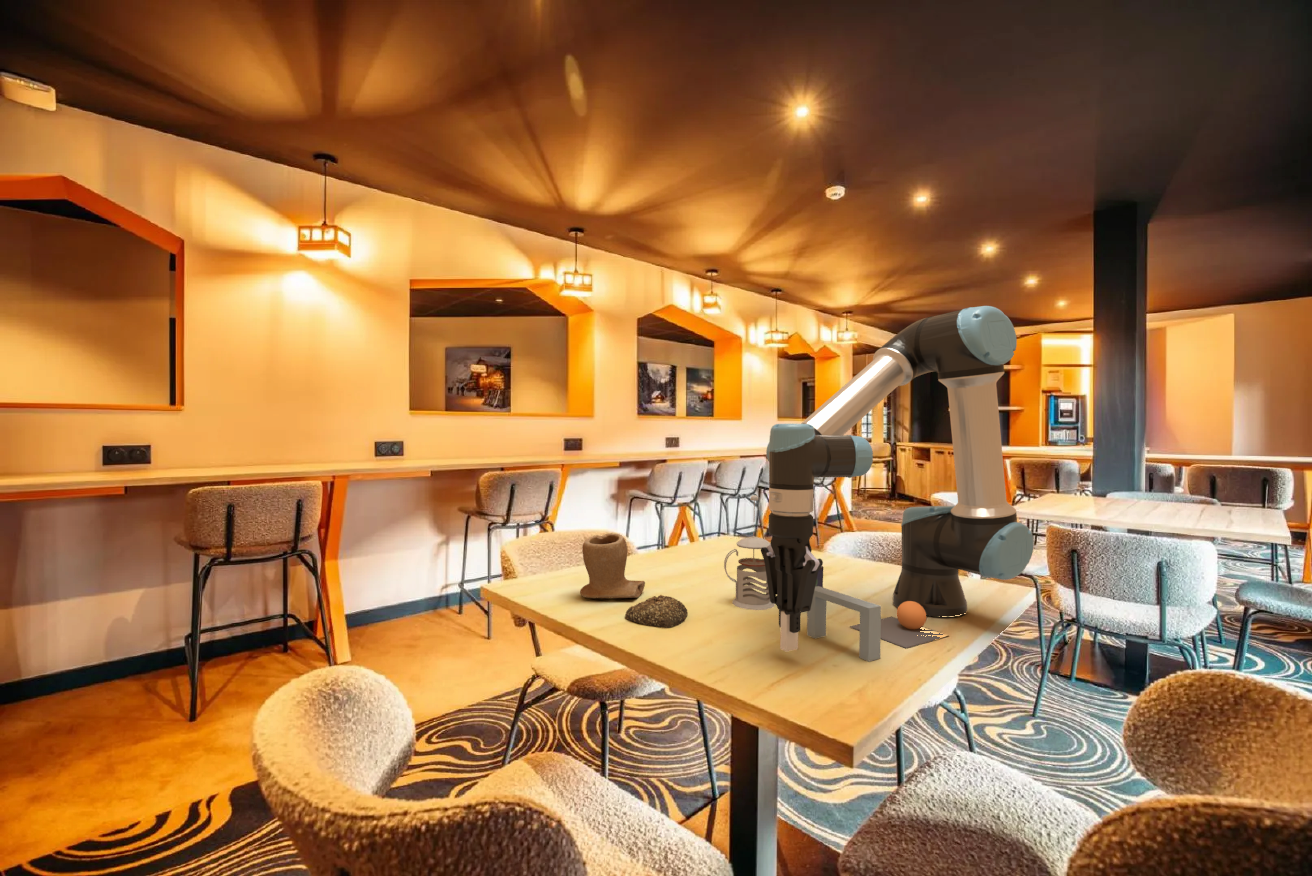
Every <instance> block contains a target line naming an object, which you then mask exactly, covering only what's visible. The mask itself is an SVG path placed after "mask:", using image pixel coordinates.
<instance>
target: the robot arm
mask: <svg viewBox="0 0 1312 876" xmlns="http://www.w3.org/2000/svg"><path fill="white" fill-rule="evenodd" d="M1017 345H1018V342H1017V334H1016V330H1015V327H1014V324H1013V322H1012V321H1011V320H1010V318H1009V317H1008V316H1007V315H1006V314H1004V312H1003V311H1002V310H1001V309H999V308H997V307H995V306H991V305H982V306H974V307H973V306H972V307H971V306H970V307H966V308H963V309H960V310H955V311H950V312H947V313H942V314H938V315H935V316H927V317H925V318H922V319H918V320H917V321H915V322H913V323H911V324H909V325H908V326H907V327H905V328H904V329H902V330H901V331H899V332H898V333H897V334H896V335H894V336H893V337H891V338H890V339H889V340H888V341H886V343H884V344H883V345H882V346H881V347H880V348H878V349H877V350H876V351H875V352H874V354H873V356H872V361H871V362H870V363H869V364H867V365H866V366H865V367H864V368H862V370H860V371H859V372H858V373H857V374H856V375H855V376H853V378H851V379H850V380H849V381H848V382H846V384H845V385H844V386H842V387H840V389H839V390H838V391H836V392H835V393H834V394H833V395H832V396H830V398H828V399H827V400H825V402H824V403H822V405H821V406H819V407H818V408H817V409H815V411H813V412H812V413H811V414H810V415H809V416H808V417H807V418H806V419H805V420H803V421H802V422H801V423H776V424H774V425H772V426H771V428H770V432H769V440H768V441H769V442H768V444H767V446H766V451H765V452H766V459H767V461H768V471H769V472H768V474H769V475H768V483H769V484H768V486H769V488H768V509H769V510H770V511H771V512H770V513H769V514H768V526H767V527H768V528H767V529H768V534H769V535H770V536H771V539H770V543H771V544H770V545H769V546H768V547H763V548H761V549H760V552H761V556H762V559H764V561H765V568H766V575H767V582H768V589H769V596H770V602H771V603H772V604H774V603H775V606H776V607H777V610H778V626H779V628H780V642H779V643H780V646H779V648H780V650H782V651H783V652H790V651H795V650H799V633H800V632H801V622H802V621H801V620H802V618H801V615H802V613H807V612H808V611H810V609H811V604H812V599H813V595H814V590H815V585H816V580H817V575H818V571H819V570H820V568H821V566H823V564H824V561H823V559H821V558H817V557H816V556H814V555H813V553H812V546H811V542H810V540H811V537H812V536H813V535H814V516H813V515H812V514H811V513H812V512H813V511H814V486H815V478H817V479H819V478H849V479H851V478H852V477H853V478H854V477H861V476H864V475H866V474H867V473H868V472H869V471H870V469H871V467H872V465H873V462H874V452H873V451H874V450H873V447H872V446H871V443H870V442H869V441H868V440H867V439H866V438H864V437H862V436H859V435H858V436H857V435H852V434H846V433H848V431H850V430H851V429H852V428H853V427H854V426H856V424H857V423H858V422H860V421H861V420H862V419H863V418H864V417H865V416H866V415H867V414H868V413H869V412H871V411H872V410H873V409H874V408H875V407H877V405H879V404H880V403H881V402H882V401H883V400H884V399H885V398H886V397H887V396H888V395H890V393H892V392H893V391H894V390H895V389H896V388H897V387H898V386H899V387H900V386H906V385H907V384H909V383H910V382H911V381H913V380H914V379H915V378H916V377H920V376H921V375H924V374H927V373H931V372H932V373H934V372H937V379H938V380H937V381H938V382H939V383H941V384H942V385H944V386H945V387H946V388H947V397H948V406H949V407H948V408H949V417H950V418H949V419H950V429H951V441H952V451H953V461H954V473H955V482H956V493H957V503H956V504H955V505H935V506H934V505H931V506H930V505H929V506H910V507H907V508H906V509H904V510H903V513H902V520H901V521H902V522H901V525H900V526H901V569H900V570H901V571H900V575H899V576H898V580H897V582H896V584H895V587H894V590H893V594H892V604H893V605H894V606H895V607H896V608H898V607H899V606H900V604H902V603H903V602H906V601H913V602H916V603H918V604H920V605H921V606H922V607H923V608H924V610H925V612H926V615H929V616H928V617H931V616H940V617H939V618H943V617H942V616H955V615H960V614H964V613H966V611H967V612H968V602H967V599H966V597H965V593H964V590H963V587H962V583H961V580H960V576H959V570H960V571H964V572H967V573H971V574H975V575H978V576H982V577H984V578H988V579H997V580H1002V581H1008V580H1011V579H1014V578H1017V576H1019V575H1021V574H1022V572H1023V571H1024V570H1025V569H1026V568H1027V566H1028V565H1029V563H1030V561H1031V559H1032V556H1033V552H1034V542H1035V541H1034V536H1033V532H1032V531H1031V530H1030V528H1029V527H1028V526H1027V525H1025V524H1024V523H1022V522H1021V521H1020V522H1019V521H1018V515H1017V508H1016V507H1014V506H1013V505H1011V504H1010V503H1009V502H1008V501H1007V494H1006V493H1007V492H1006V491H1007V490H1006V482H1005V468H1004V460H1003V457H1004V456H1003V447H1002V446H1003V445H1002V435H1001V425H1000V423H1001V422H1000V412H999V400H998V399H999V398H998V388H997V382H998V381H999V380H1000V379H1001V378H1002V376H1004V374H1005V367H1004V364H1006V363H1009V361H1011V360H1012V358H1013V357H1014V355H1015V353H1014V352H1015V351H1016V350H1017ZM845 434H846V435H845ZM966 614H967V613H966Z"/></svg>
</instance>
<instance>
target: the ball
mask: <svg viewBox="0 0 1312 876" xmlns="http://www.w3.org/2000/svg"><path fill="white" fill-rule="evenodd" d="M896 618H898V621H899V622H900V624H901V625H903V626H904V627H905V628H908V629H913V630H914V629H919V628H921V627H924V625H925V624H926V622H927V616H926V612H925V610H924V608H923V607H922V606H921V605H920V604H918V603H916V602H913V601H906V602H903V603H902V604H900V606H899V607H897V610H896Z"/></svg>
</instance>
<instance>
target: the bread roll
mask: <svg viewBox="0 0 1312 876" xmlns="http://www.w3.org/2000/svg"><path fill="white" fill-rule="evenodd" d="M688 613H689V612H688V609H687V607H686V606H685V604H683V602H681V600H678V599H676V598H674V597H672V596H669V595H668V596H667V595H665V596H664V595H662V594H660V595H658V596H656V595H655V596H652V597H651V596H650V597H648V598H647V599H645V600H644V601H641V602H638V603H636V604H634V605H631V606H630V607H629V608H627V610H626V612H625V615H624V617H625V619H626V620H628V621H630V622H633V623H635V622H636V624H639V623H640V624H641V625H645V626H648V625H649V627H656V626H658V627H657V628H661V627H665V628H664V629H669V628H673V627H676V626H679V625H680V624H682V623H683V622H685V621H686V618H687V617H688ZM681 622H682V623H681Z"/></svg>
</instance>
